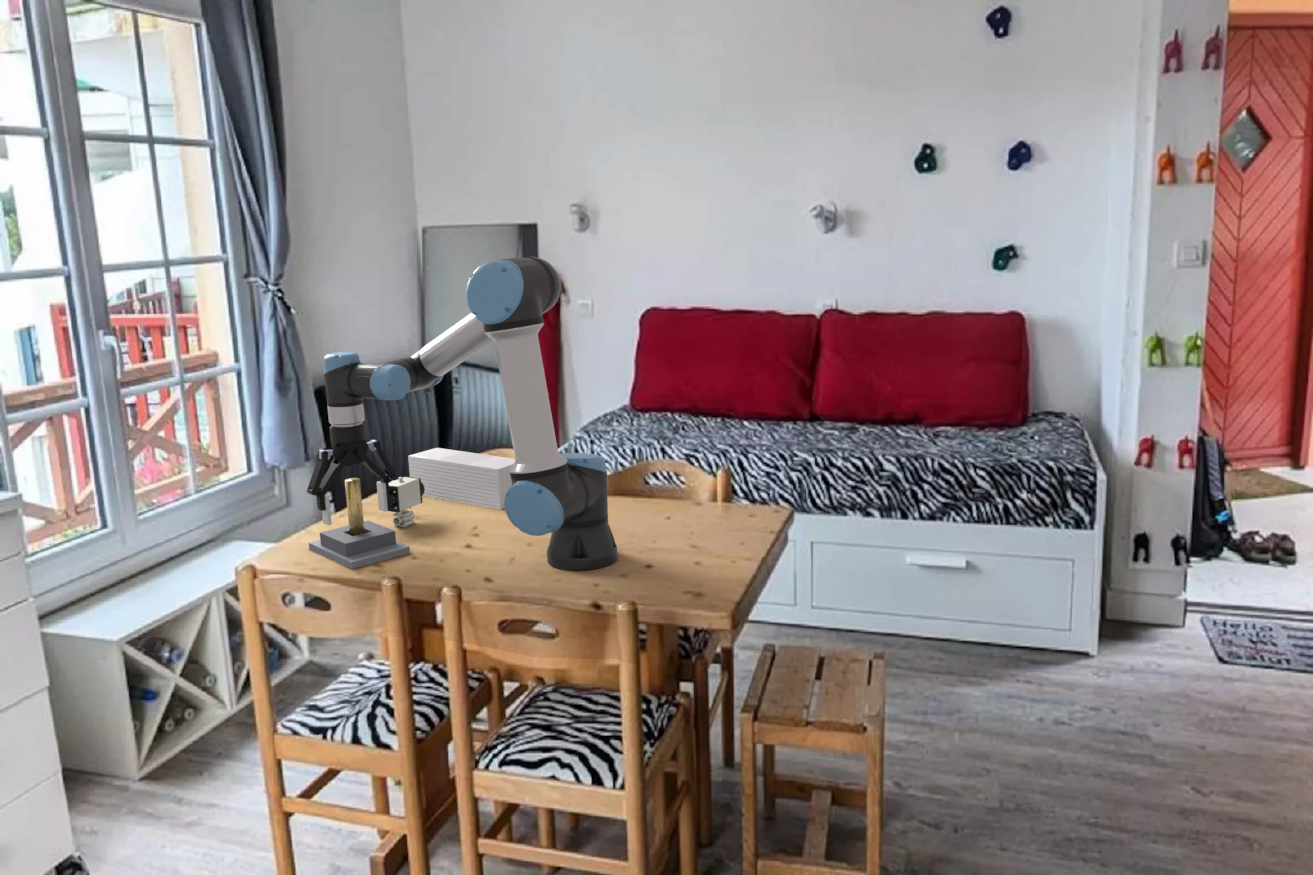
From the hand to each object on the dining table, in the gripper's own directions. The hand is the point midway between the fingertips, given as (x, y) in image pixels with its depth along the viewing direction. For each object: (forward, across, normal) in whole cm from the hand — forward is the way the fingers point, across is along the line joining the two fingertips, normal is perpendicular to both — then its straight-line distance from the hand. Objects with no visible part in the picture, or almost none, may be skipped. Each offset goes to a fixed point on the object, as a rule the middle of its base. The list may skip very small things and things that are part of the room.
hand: (355, 517), depth 230 cm
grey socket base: (+8, 0, 0) cm, 8 cm away
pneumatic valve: (+8, -17, -10) cm, 21 cm away
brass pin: (+6, 0, 0) cm, 6 cm away
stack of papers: (+8, -42, -20) cm, 47 cm away
